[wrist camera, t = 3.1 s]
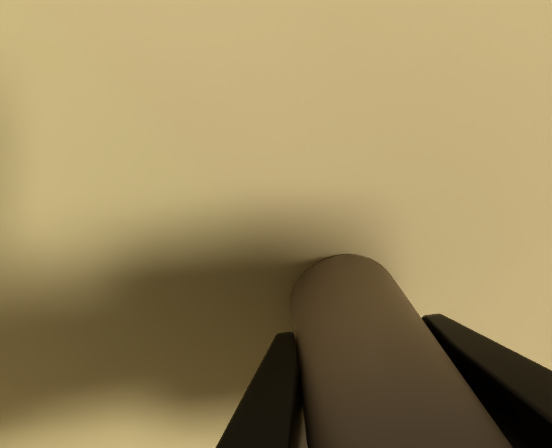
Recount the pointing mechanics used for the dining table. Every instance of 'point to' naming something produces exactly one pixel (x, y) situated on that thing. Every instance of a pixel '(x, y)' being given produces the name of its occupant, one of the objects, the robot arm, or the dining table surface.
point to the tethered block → (377, 366)
